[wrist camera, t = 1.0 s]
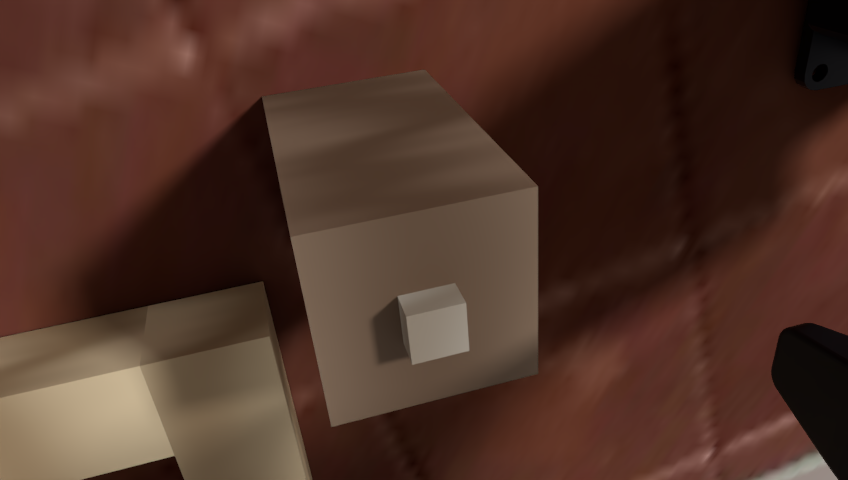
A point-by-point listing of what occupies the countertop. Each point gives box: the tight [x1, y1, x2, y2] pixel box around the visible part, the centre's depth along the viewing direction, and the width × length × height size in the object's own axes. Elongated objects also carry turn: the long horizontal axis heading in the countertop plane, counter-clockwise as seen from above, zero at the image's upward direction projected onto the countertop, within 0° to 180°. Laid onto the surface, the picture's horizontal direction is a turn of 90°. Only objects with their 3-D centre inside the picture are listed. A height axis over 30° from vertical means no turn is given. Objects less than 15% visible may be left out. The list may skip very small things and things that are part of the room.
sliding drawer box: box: [262, 70, 538, 427], centre depth 14 cm, size 4×4×8 cm
